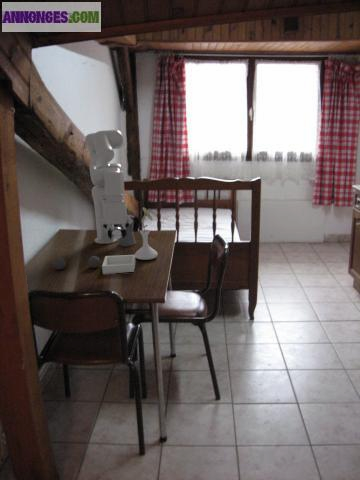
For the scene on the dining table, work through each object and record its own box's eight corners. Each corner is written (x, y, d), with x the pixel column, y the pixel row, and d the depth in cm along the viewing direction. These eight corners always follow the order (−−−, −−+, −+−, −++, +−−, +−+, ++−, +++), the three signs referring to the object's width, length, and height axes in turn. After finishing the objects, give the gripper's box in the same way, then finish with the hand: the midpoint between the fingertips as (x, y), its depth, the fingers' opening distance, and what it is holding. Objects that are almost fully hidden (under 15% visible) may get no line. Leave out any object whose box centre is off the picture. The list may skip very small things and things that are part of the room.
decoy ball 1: (55, 267, 225) (54, 256, 224) (67, 266, 225) (66, 255, 224) (53, 271, 220) (51, 260, 218) (65, 270, 220) (63, 259, 218)
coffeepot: (112, 245, 256) (109, 212, 251) (122, 240, 264) (119, 208, 259) (136, 248, 249) (134, 214, 244) (145, 243, 257) (143, 210, 252)
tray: (106, 264, 227) (105, 256, 226) (135, 262, 227) (134, 254, 226) (102, 274, 214) (102, 266, 212) (134, 272, 214) (133, 264, 213)
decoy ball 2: (89, 265, 226) (88, 254, 224) (101, 265, 226) (100, 254, 224) (87, 269, 220) (86, 258, 219) (99, 269, 220) (98, 257, 219)
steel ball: (110, 240, 213) (109, 228, 212) (111, 237, 219) (111, 225, 217) (123, 240, 214) (122, 228, 212) (123, 236, 219) (123, 225, 217)
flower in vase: (157, 261, 228) (154, 210, 221) (133, 262, 228) (130, 211, 221) (158, 252, 240) (156, 204, 233) (136, 253, 240) (132, 205, 233)
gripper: (93, 201, 207) (97, 240, 212) (133, 199, 208) (135, 239, 213) (95, 197, 214) (99, 236, 219) (134, 196, 215) (136, 234, 220)
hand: (117, 237), depth 216 cm, fingers closed on steel ball, 5 cm apart
